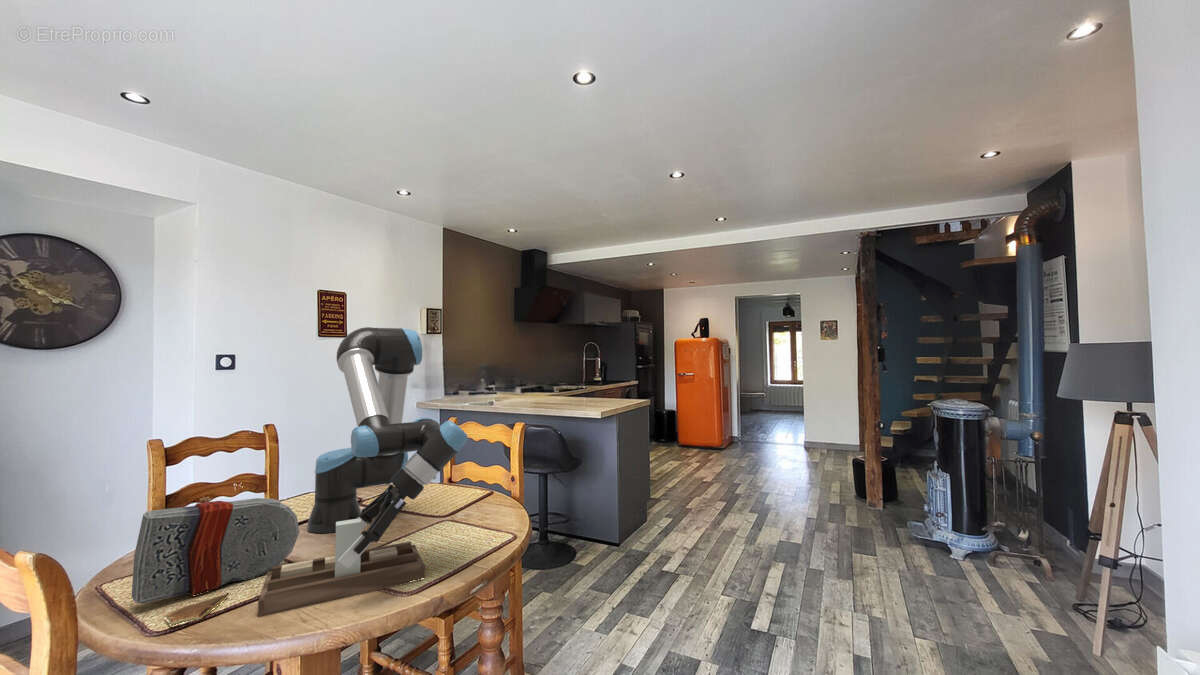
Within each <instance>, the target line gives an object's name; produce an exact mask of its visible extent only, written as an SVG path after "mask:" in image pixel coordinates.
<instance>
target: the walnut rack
mask: <svg viewBox="0 0 1200 675" xmlns="http://www.w3.org/2000/svg"><path fill="white" fill-rule="evenodd" d="M392 547H396V549H397V556H393V557H388V558H383V559H377V560H372V561H369V552H370V551H376V550H381V549H386V548H392ZM331 556H332V555H331ZM331 556H330V555H329V556H324V557H323V556H322V557H318V558H312V559H311V560H313V572H310V573H305V574H300V575H295V576H290V577H284V578H280V572H281V568H282V565H287V564H288V563H286V564H279V565H278V566H273V568H272V570H270V571H268V572H266V576H265V579H264V582H263V585H262V588H261V592H260V594H259V599H258V603H257V606H258V607H257V617H262V616H267V615H272V614H277V613H280V612H285V611H289V610H294V609H298V608H299V609H300V608H303V607H308V606H312V605H316V604H317V605H318V604H320V603H321V604H322V603H326V602H329V601H334V600H338V599H339V600H340V599H342V598H343V599H344V598H349V597H353V596H356V595H362V594H366V593H370V592H374V591H379V590H384V589H388V588H387V587H389V588H392V587H391V586H393V587H396V586H395V585H398V586H401V585H400V584H402V585H405V584H404V583H407V584H409V583H408V582H410V581H413V580H418V579H421V578H425V579H426V576H425V575H426V566H425V564H424V562H423V559H422V557H421V555H420V553H419V551H418V548H417V546H416V545H415V544H413V543H412V542H411V541H407V542H400V543H396V544H390V545H384V546H379V547H374V548H373V547H372V548H368V549H366V550H365V551H364V552H363V553H362V554H361V563H360V573H356V574H351V575H347V576H342V577H337V578H335V568H331V569H326V570H325V558H326V557H331ZM333 556H335V555H333ZM309 560H310V559H307V560H302V561H300V562H304V561H309ZM298 562H299V561H296V562H290V563H289V564H293V563H298Z"/></svg>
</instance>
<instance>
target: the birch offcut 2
mask: <svg viewBox="0 0 1200 675" xmlns="http://www.w3.org/2000/svg"><path fill="white" fill-rule="evenodd" d="M325 557H326V558H325V570H326V569H331V568H335V556H334V555H331V557H328V556H325Z"/></svg>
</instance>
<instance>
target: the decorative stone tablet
mask: <svg viewBox="0 0 1200 675" xmlns="http://www.w3.org/2000/svg"><path fill="white" fill-rule="evenodd" d="M299 534H300V527H299V522H298V516H297V514H296V513H295V512H294V510H293V509H292V508H291V507H290V506H289V505H287V504H285V503H283V502H281V501H280V500H277V499H275V498H260V497H254V498H247V499H240V500H231V501H225V500H216V501H214V500H213V501H206V502H197V503H196V504H195V505H192V506H190V505H189V506H183V507H181V506H180V507H173V508H163V509H156V510H148V511H146V512H144V513H143V514H142V520H141V524H140V528H139V533H138V536H137V541H136V547H135V551H134V555H133V569H132V584H131V585H132V586H131V597H130V598H132V600H133V602H134V603H135V604H140V605H144V604H148V603H151V602H157V601H161V600H164V599H165V600H166V599H170V598H174V597H178V596H183V595H187V594H188V595H189V596H190V597H191V596H193V595H197V594H200V593H204V592H207V591H210V590H213V591H215V590H214V589H216V590H217V589H219V588H220V587H222V586H223V585H226V584H228V583H231V582H233V583H234V582H240V581H241V582H242V580H243V581H247V579H248V580H251V578H252V579H254V578H256V577H259V576H261V575H263V574H267V572H270V571H272V568H273V566H279V565H281V563H283V561H284V560H285V559H286V558H287V557H288V556H289V555H290V554H291V553H292V552H293V550H294V547H295V545H296V542H297V541H298V540H297V539H298V537H299ZM253 577H254V578H253ZM210 592H211V591H210ZM207 593H208V592H207ZM204 594H205V593H204Z"/></svg>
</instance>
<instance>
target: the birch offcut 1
mask: <svg viewBox="0 0 1200 675" xmlns="http://www.w3.org/2000/svg"><path fill="white" fill-rule="evenodd" d="M308 560H309V561H306V560H303V561H304V562H301V561H297V562H298V563H295V562H292V563H293V564H290V563H286V564H287V565H284V564H281V565H282V568H281V572H280V578H284V577H290V576H295V575H300V574H305V573H310V572H313V560H312V559H308Z"/></svg>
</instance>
